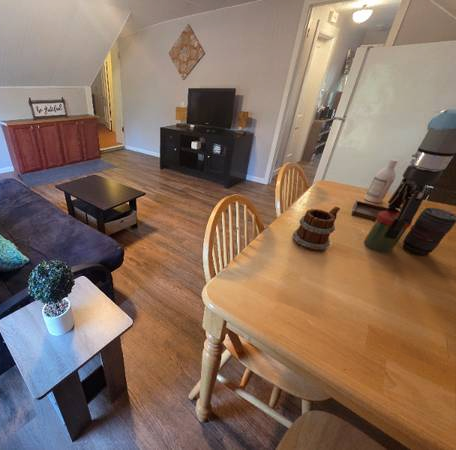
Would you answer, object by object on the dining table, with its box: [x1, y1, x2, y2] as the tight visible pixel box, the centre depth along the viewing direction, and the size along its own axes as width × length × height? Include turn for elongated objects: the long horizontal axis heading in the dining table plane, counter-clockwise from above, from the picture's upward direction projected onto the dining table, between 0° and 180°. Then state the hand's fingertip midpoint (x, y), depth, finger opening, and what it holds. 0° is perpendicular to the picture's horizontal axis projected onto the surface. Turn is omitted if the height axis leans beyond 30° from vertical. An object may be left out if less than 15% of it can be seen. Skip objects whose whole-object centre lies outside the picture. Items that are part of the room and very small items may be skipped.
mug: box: [292, 206, 341, 252], centre depth 86 cm, size 12×14×15 cm
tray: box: [351, 200, 400, 222], centre depth 106 cm, size 17×13×2 cm
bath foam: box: [364, 158, 399, 204], centre depth 114 cm, size 7×7×20 cm
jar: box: [363, 219, 408, 254], centre depth 85 cm, size 8×8×12 cm
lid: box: [376, 211, 413, 229], centre depth 82 cm, size 9×9×2 cm
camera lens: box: [401, 207, 456, 257], centre depth 82 cm, size 8×8×15 cm
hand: (386, 230), depth 84 cm, fingers closed on lid, 8 cm apart
